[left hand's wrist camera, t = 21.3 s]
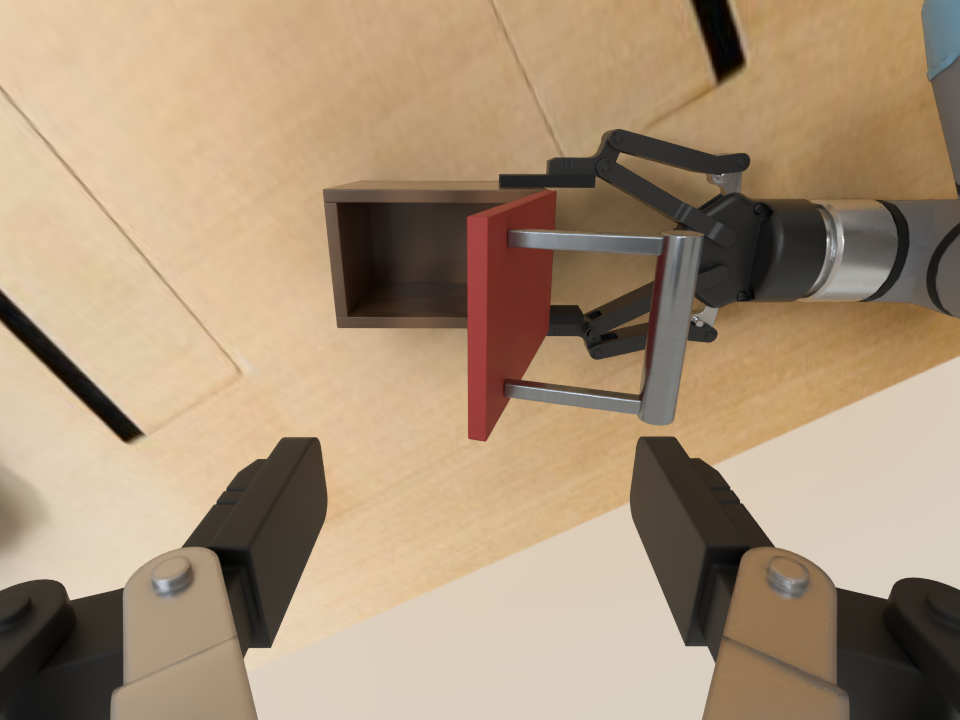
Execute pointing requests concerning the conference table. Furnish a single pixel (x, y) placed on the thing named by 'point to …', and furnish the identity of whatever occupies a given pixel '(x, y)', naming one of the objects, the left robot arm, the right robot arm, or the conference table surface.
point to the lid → (526, 309)
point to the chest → (405, 249)
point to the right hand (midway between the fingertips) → (498, 250)
